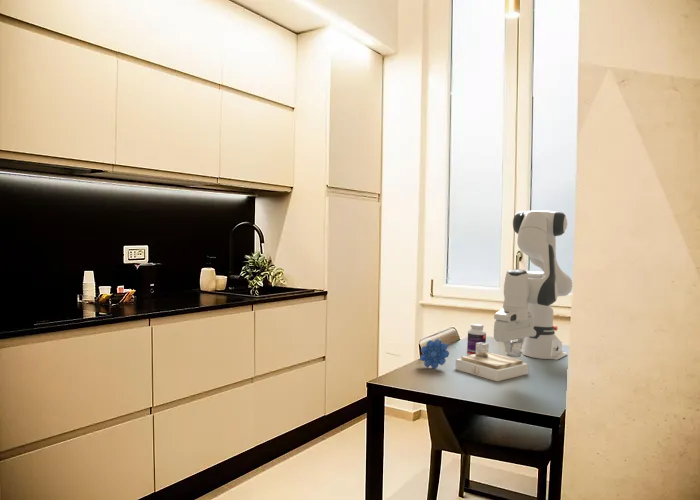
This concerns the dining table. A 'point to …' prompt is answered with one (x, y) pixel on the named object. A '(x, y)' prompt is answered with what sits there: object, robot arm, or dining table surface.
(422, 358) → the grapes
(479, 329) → the pill bottle
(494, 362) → the pan
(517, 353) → the block
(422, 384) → the dining table surface
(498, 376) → the base
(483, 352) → the block
